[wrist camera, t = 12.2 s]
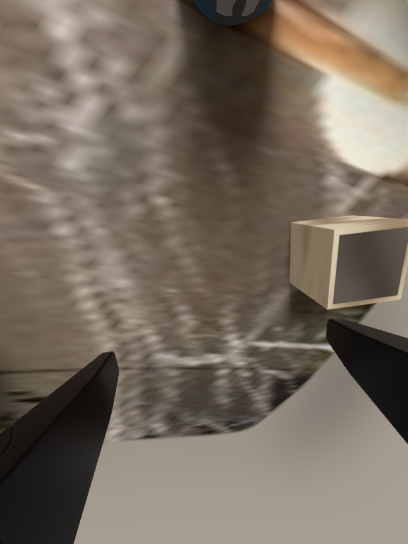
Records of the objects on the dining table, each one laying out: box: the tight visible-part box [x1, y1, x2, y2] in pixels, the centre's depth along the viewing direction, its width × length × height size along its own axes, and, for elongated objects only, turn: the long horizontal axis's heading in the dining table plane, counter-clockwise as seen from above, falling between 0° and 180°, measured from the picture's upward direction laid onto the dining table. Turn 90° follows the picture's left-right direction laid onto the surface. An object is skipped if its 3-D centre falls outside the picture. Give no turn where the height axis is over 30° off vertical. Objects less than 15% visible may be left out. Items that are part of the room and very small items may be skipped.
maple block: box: [290, 216, 408, 310], centre depth 18 cm, size 6×6×6 cm
